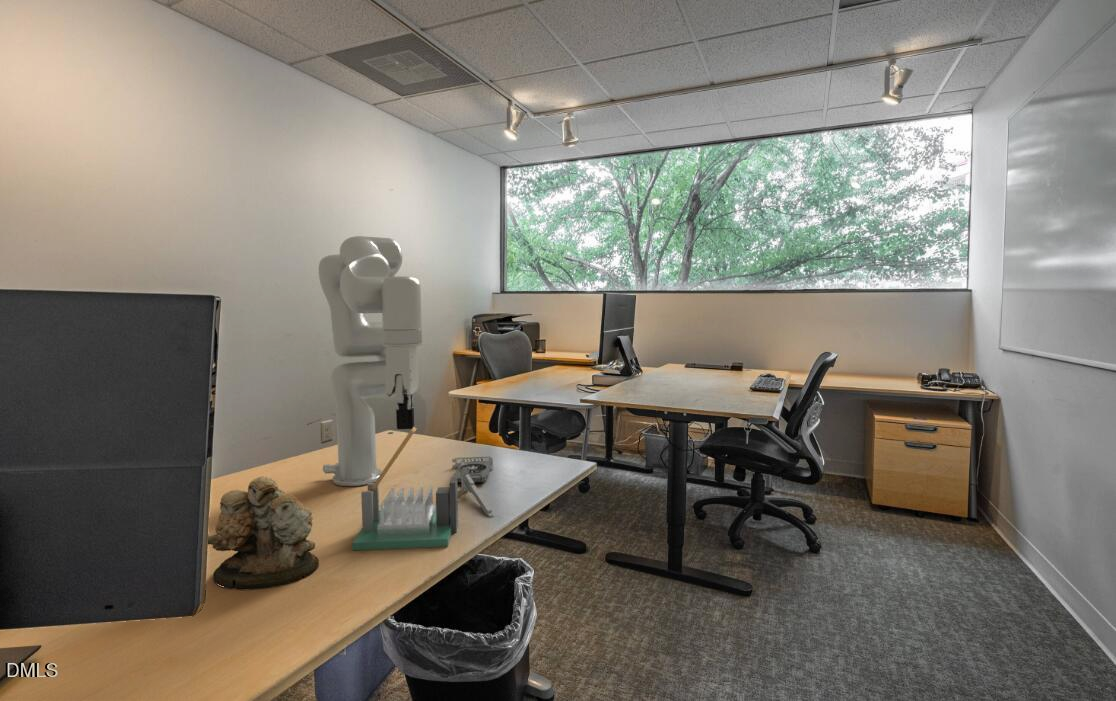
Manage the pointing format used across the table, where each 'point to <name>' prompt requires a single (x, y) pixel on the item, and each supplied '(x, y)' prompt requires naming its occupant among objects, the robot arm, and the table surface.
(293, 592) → the table surface
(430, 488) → the heat sink
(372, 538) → the motherboard
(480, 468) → the graphics card
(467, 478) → the caliper
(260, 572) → the owl figurine
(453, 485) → the lug
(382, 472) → the strap
